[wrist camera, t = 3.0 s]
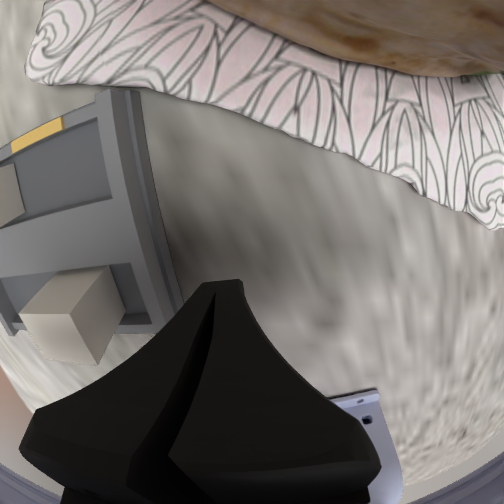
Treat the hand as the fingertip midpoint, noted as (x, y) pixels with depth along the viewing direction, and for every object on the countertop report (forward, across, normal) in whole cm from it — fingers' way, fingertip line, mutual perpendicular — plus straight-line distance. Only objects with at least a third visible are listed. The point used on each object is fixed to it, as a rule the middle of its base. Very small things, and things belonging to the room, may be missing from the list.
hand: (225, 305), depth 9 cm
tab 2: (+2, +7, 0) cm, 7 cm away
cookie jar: (+3, -8, -16) cm, 18 cm away
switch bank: (+3, +8, -3) cm, 9 cm away
